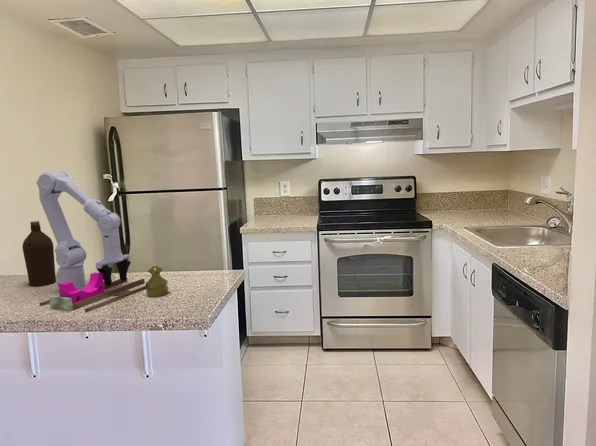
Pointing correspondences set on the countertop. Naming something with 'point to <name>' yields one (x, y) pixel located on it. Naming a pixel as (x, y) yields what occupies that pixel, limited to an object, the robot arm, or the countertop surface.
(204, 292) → the countertop surface
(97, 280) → the magenta curved bracket
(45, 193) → the robot arm
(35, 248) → the olive oil
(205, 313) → the countertop surface
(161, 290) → the gold tapered round piece
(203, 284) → the countertop surface
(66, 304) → the wooden slat rack
